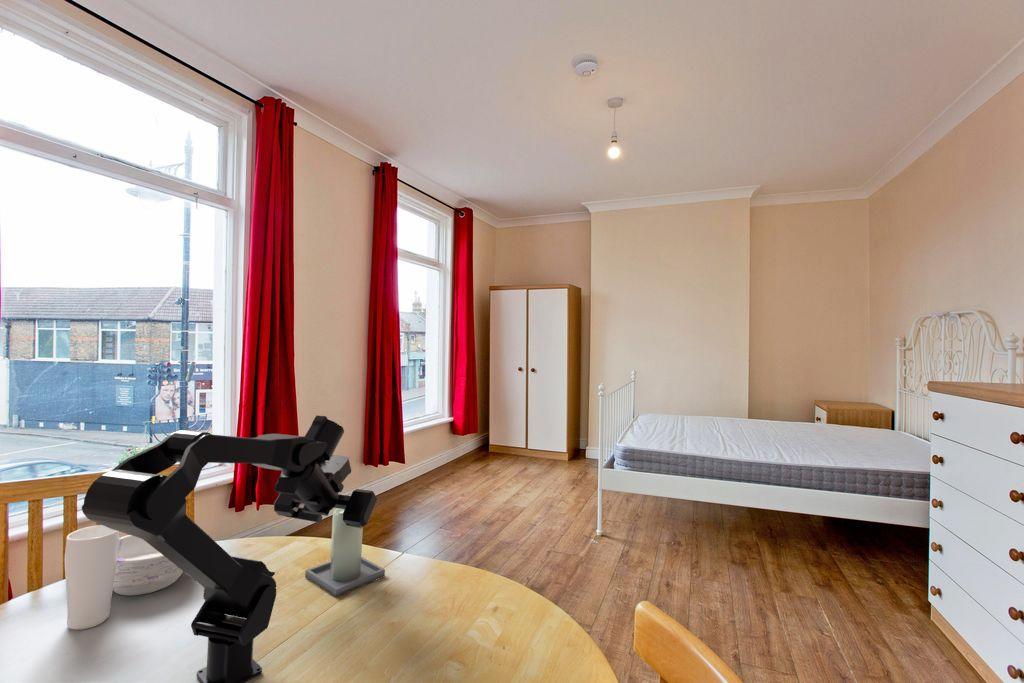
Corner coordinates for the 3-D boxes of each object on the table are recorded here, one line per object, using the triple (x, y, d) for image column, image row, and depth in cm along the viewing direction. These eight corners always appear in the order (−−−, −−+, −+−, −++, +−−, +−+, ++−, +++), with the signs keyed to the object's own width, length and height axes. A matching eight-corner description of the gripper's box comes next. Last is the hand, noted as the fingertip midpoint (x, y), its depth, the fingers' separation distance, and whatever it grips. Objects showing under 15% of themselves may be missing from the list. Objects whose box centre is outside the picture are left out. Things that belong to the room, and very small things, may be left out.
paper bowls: (210, 577, 94) (212, 538, 95) (119, 614, 81) (122, 568, 81) (169, 558, 102) (171, 521, 102) (79, 589, 88) (81, 547, 88)
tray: (384, 576, 98) (384, 569, 98) (335, 597, 89) (336, 589, 89) (353, 559, 105) (353, 552, 105) (305, 577, 96) (305, 570, 96)
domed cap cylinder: (362, 578, 96) (366, 513, 96) (331, 583, 93) (335, 517, 93) (357, 565, 101) (360, 504, 101) (327, 570, 98) (331, 507, 98)
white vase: (82, 637, 74) (87, 542, 75) (49, 630, 76) (54, 537, 76) (125, 614, 81) (130, 526, 81) (94, 607, 82) (99, 522, 83)
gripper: (375, 449, 88) (398, 491, 98) (287, 440, 92) (318, 482, 102) (349, 505, 80) (377, 544, 91) (254, 492, 84) (292, 532, 94)
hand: (341, 523), depth 95 cm, fingers open, 9 cm apart
